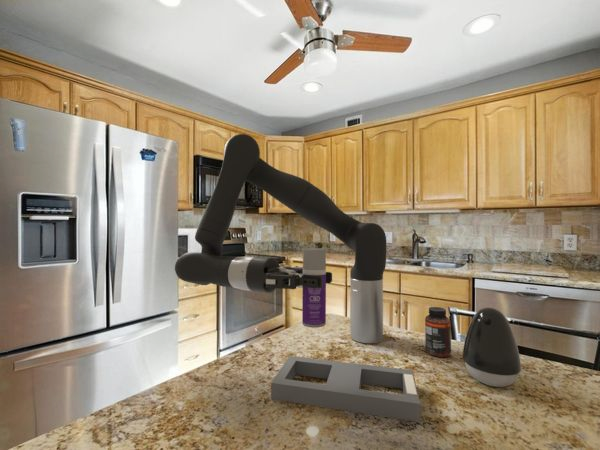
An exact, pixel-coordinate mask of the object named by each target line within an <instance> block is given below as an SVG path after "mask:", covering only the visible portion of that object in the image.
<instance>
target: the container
mask: <svg viewBox="0 0 600 450" xmlns="http://www.w3.org/2000/svg"><path fill="white" fill-rule="evenodd" d="M302 253H303V254H302V267H303V277H304V275H315V276H322V277H323V287H321V288H312V287H304V285H303V287H302V302H301V303H302V306H301V307H302V310H301V311H302V312H301V313H302V314H301V315H302V326H304V327H307V328H310V329H311V328H313V329H314V328H315V329H317V328H318V329H319V328H323V327H325V325H326V324H327V323H326V322H327V321H326V320H327V318H326V317H327V316H326V315H327V314H326V311H327V306H326V305H327V304H326V302H327V300H326V299H327V283H326V272H327V263H326V262H327V260H326V259H327V257H326V256H327V255H326V248H320V247H315V248H314V247H307V248H303V252H302Z"/></svg>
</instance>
